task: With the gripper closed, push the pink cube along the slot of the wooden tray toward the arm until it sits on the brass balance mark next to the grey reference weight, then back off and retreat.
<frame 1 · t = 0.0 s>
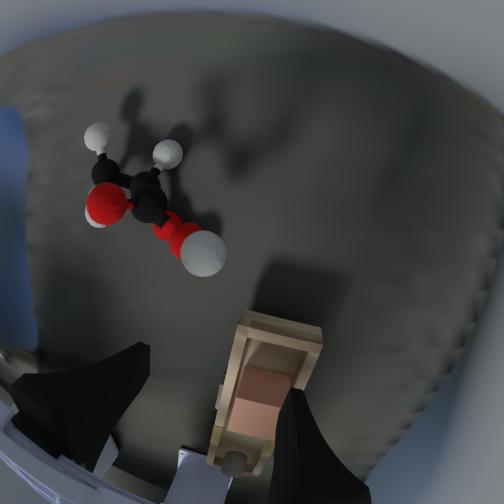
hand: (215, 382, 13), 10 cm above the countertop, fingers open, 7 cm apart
molecular model: (168, 192, 21), on the countertop
pink cube: (259, 403, 19), point 5 cm above the countertop, slide at 4.0 cm
wooden tray: (256, 395, 25), on the countertop
plastic bottle: (78, 416, 33), on the countertop
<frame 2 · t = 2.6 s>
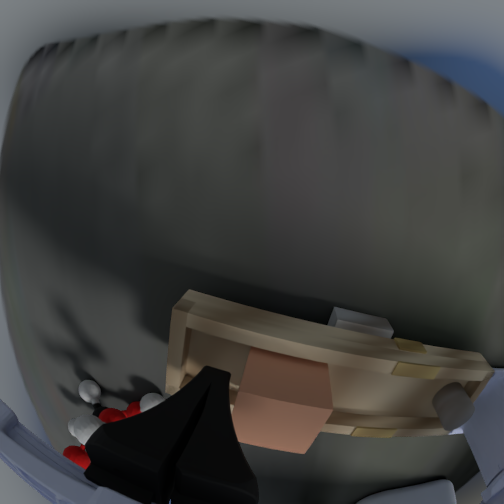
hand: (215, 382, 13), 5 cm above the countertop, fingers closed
molecular model: (122, 398, 22), on the countertop
pink cube: (278, 400, 12), point 5 cm above the countertop, slide at 3.9 cm, touching gripper
wooden tray: (341, 358, 17), on the countertop
plastic bottle: (392, 503, 22), on the countertop
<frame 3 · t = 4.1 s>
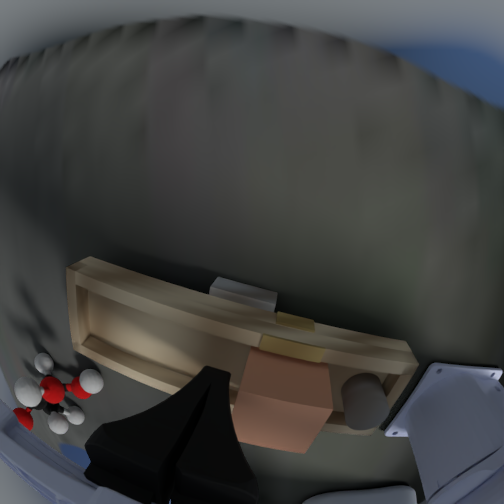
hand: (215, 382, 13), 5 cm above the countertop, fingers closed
molecular model: (71, 373, 22), on the countertop
pink cube: (278, 399, 12), point 5 cm above the countertop, slide at -3.1 cm, touching gripper
wooden tray: (235, 333, 17), on the countertop
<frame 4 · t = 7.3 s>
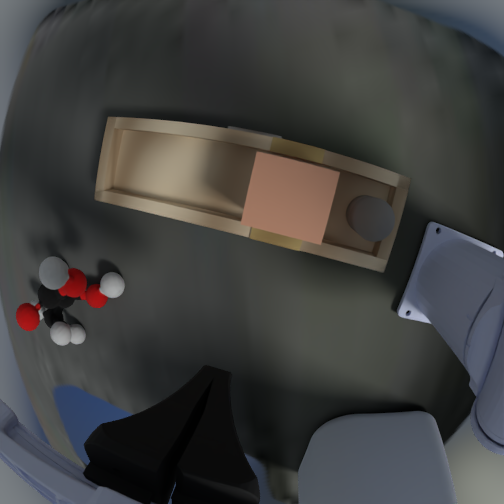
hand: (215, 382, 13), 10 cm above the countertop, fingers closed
molecular model: (85, 284, 25), on the countertop
pink cube: (290, 195, 15), point 5 cm above the countertop, slide at -3.2 cm
wooden tray: (247, 181, 20), on the countertop
plastic bottle: (365, 446, 25), on the countertop
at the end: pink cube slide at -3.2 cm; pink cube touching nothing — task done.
